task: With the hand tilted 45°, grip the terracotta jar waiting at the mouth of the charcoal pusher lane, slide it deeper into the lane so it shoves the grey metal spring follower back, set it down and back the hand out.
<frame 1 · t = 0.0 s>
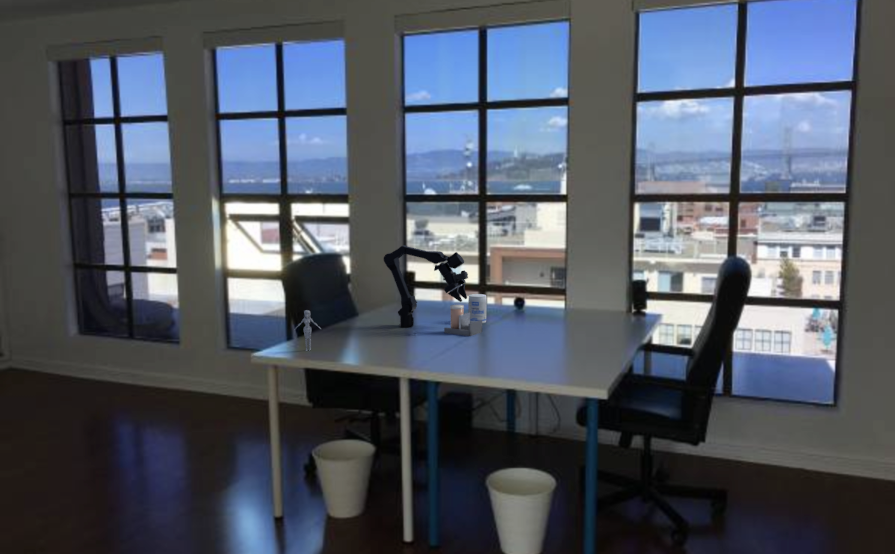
hand: (463, 300, 355), 15 cm above the table, tool tilted 35°, fingers open, 9 cm apart
jar: (457, 331, 349), resting on lane
lane: (463, 333, 347), on the table
supplement tub: (477, 323, 374), on the table
follower: (464, 323, 346), point 5 cm above the table, slide at 0.0 cm
human figurine: (308, 350, 316), on the table
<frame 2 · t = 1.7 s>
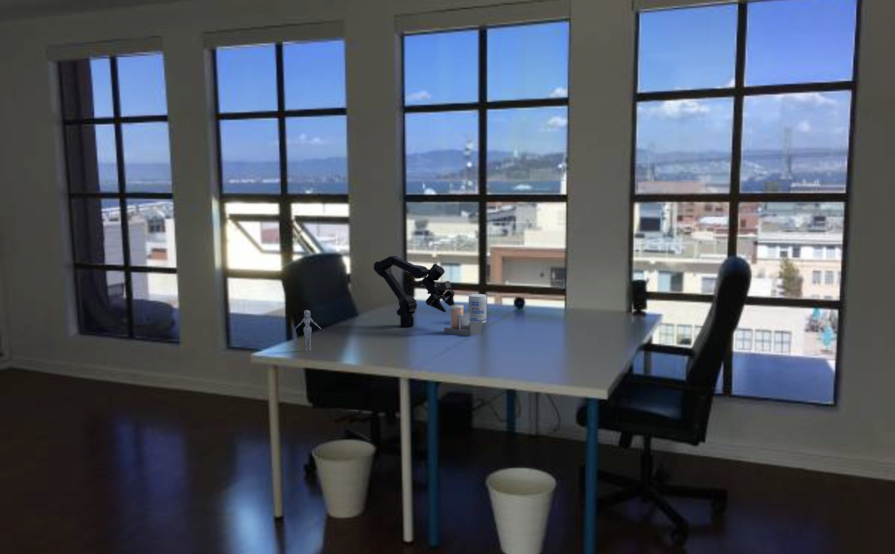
hand: (450, 310, 350), 11 cm above the table, tool tilted 45°, fingers open, 9 cm apart
nothing on the table moved.
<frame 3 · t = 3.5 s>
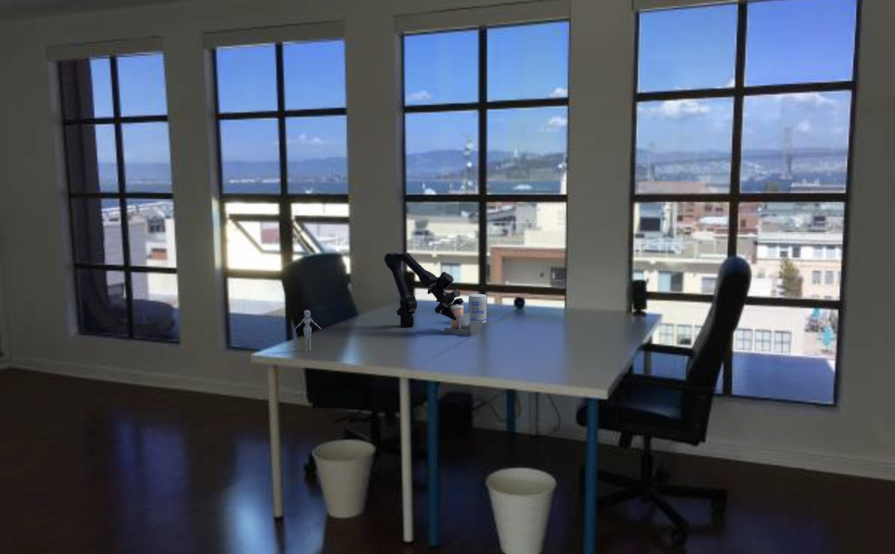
hand: (459, 318, 348), 7 cm above the table, tool tilted 45°, fingers closed on jar, 6 cm apart
jar: (457, 331, 349), point 1 cm above the table, touching gripper, lane
everything else where it was.
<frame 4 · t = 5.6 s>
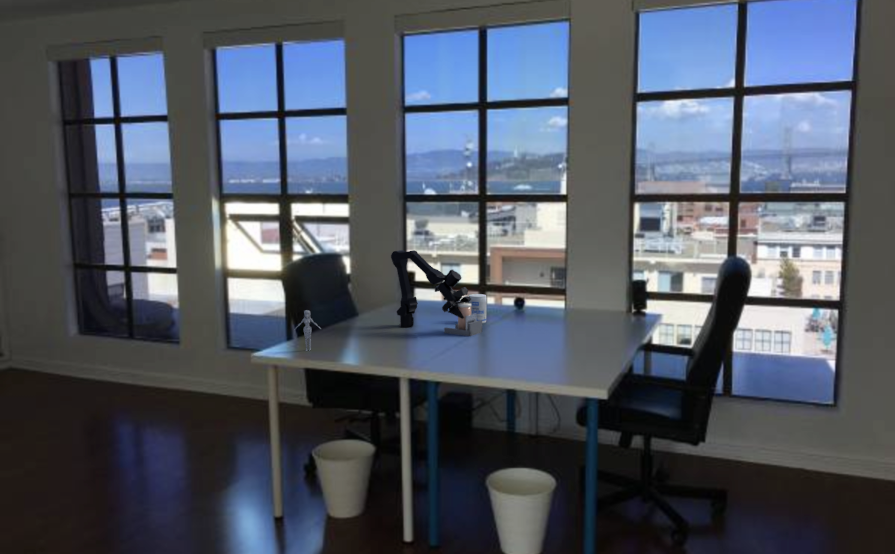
hand: (467, 317, 345), 8 cm above the table, tool tilted 45°, fingers closed on jar, 6 cm apart
jar: (464, 330, 347), point 2 cm above the table, touching follower, gripper
follower: (471, 323, 344), point 5 cm above the table, slide at 3.8 cm, touching jar
everything else where it was.
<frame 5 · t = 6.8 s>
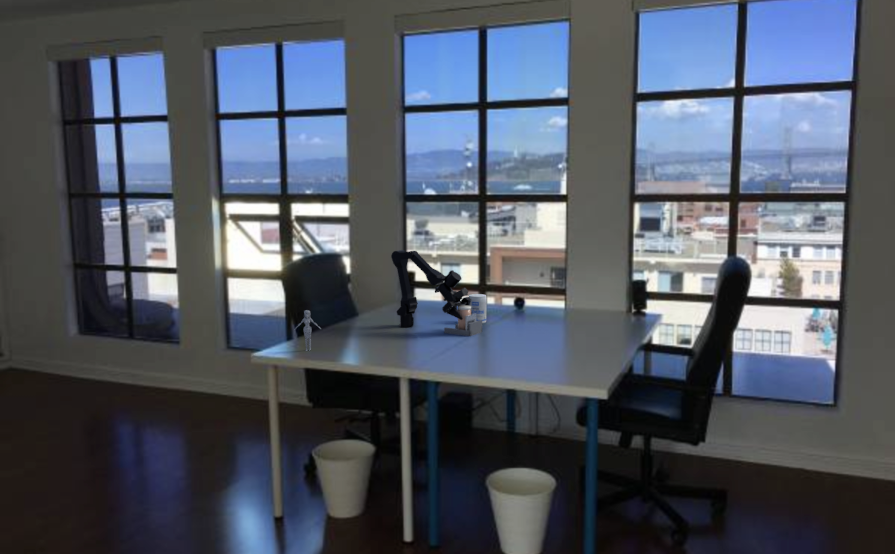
hand: (467, 317, 345), 8 cm above the table, tool tilted 45°, fingers open, 9 cm apart
jar: (464, 332, 347), resting on follower, lane
everything else where it was.
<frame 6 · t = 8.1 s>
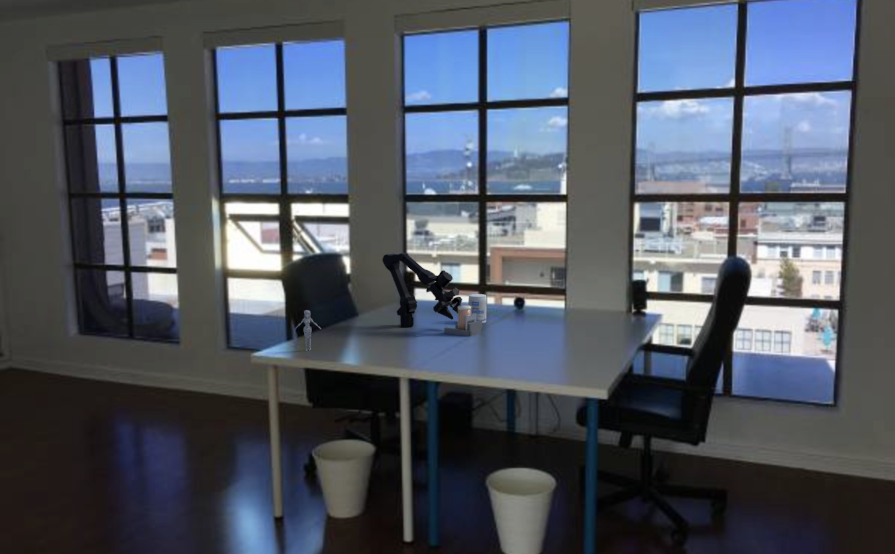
hand: (458, 317, 348), 8 cm above the table, tool tilted 45°, fingers open, 9 cm apart
nothing on the table moved.
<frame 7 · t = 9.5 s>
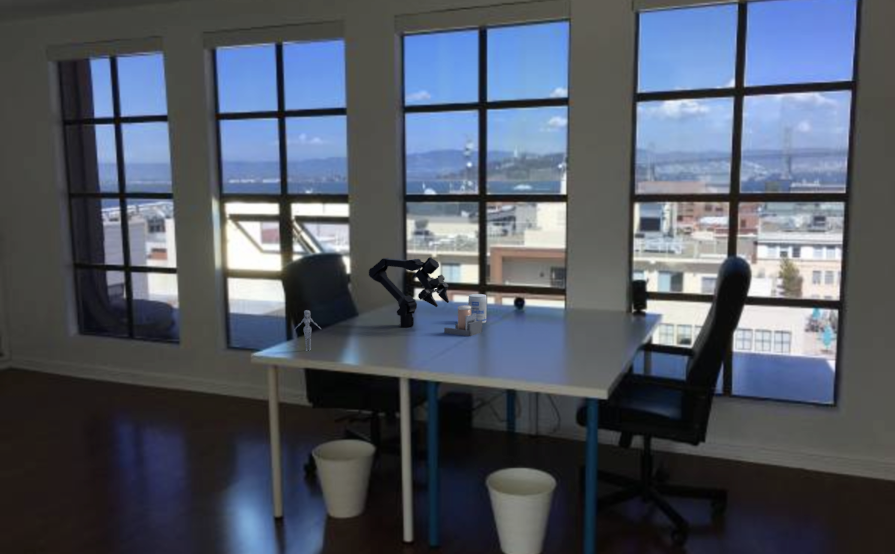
hand: (442, 304, 353), 13 cm above the table, tool tilted 40°, fingers open, 9 cm apart
nothing on the table moved.
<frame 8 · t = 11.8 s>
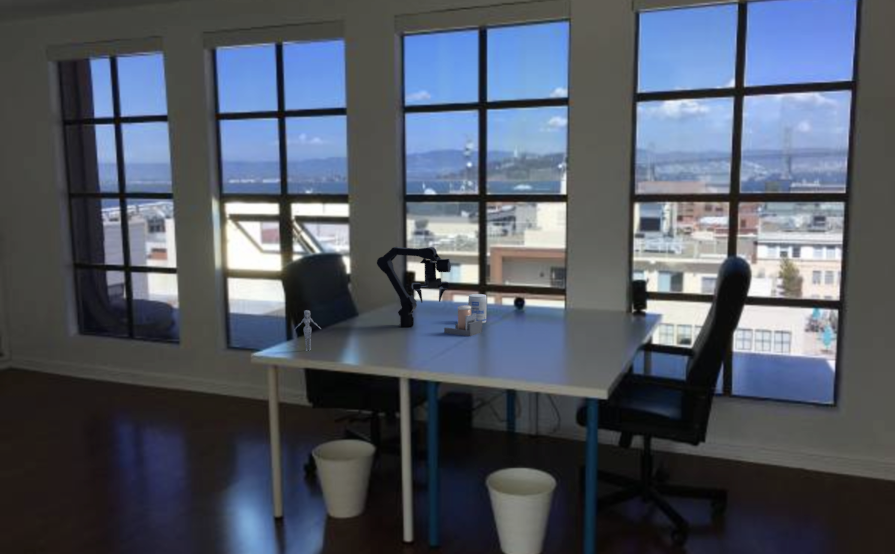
hand: (430, 302, 361), 13 cm above the table, tool pointing down, fingers open, 9 cm apart
nothing on the table moved.
at the end: follower slide at 3.7 cm; jar 0.8 cm from the target spot on the lane, point 0.5 cm above the lane's base; jar tilted 0° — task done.
